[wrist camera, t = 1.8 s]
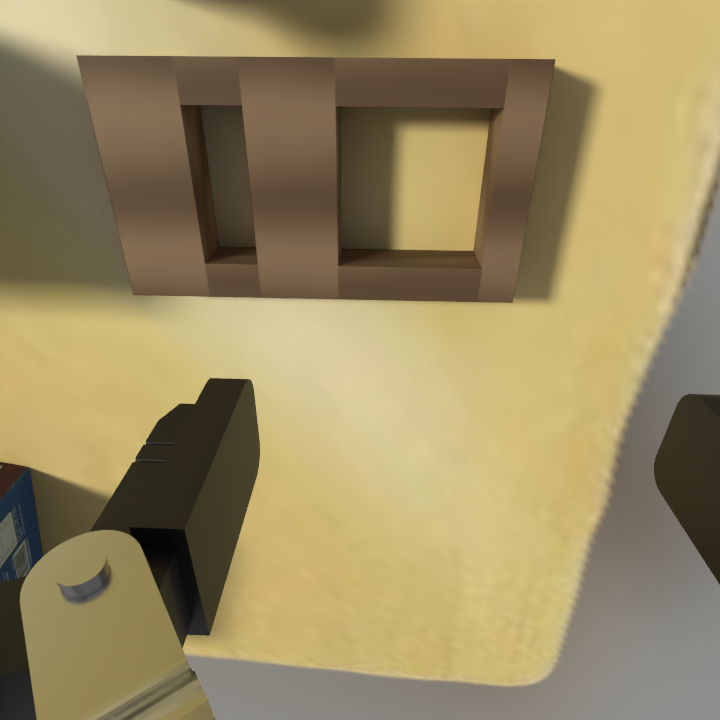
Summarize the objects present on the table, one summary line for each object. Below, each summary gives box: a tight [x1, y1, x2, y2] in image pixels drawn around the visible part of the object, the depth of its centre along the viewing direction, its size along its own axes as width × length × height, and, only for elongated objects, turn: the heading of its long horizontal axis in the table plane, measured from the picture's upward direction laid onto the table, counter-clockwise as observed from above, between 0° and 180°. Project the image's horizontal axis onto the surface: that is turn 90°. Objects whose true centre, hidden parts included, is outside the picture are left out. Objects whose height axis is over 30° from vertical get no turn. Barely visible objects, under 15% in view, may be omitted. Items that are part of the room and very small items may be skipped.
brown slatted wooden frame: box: [77, 56, 555, 303], centre depth 28 cm, size 12×22×3 cm, turn 89°
